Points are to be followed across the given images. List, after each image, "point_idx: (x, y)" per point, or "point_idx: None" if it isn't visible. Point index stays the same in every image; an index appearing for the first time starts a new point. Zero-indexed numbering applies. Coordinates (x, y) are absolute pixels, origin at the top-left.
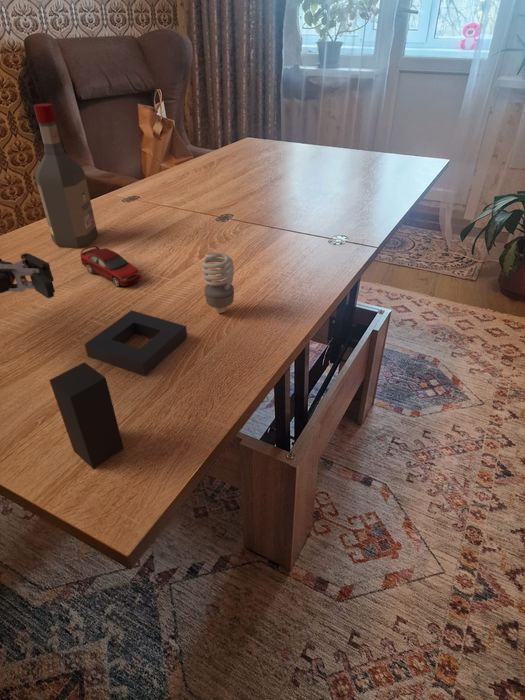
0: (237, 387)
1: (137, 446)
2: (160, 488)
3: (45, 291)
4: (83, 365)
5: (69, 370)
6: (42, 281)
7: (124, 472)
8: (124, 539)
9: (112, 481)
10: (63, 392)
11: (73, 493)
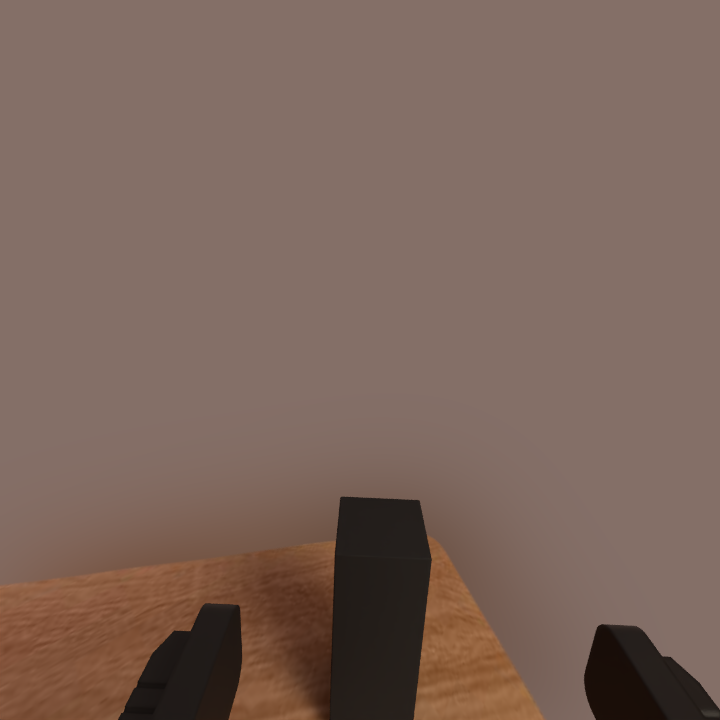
0: (80, 606)
1: (315, 638)
2: None
3: (232, 663)
4: (345, 546)
5: (378, 555)
6: (214, 636)
7: None
8: None
9: None
10: (422, 517)
11: (453, 639)
